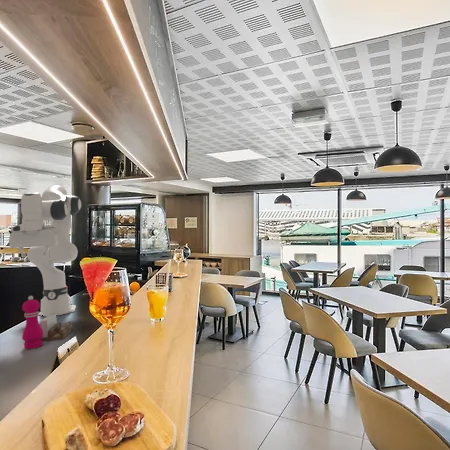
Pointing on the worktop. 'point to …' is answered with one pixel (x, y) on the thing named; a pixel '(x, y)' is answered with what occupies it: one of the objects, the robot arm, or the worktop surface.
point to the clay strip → (48, 324)
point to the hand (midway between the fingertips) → (34, 256)
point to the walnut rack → (58, 332)
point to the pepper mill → (32, 324)
